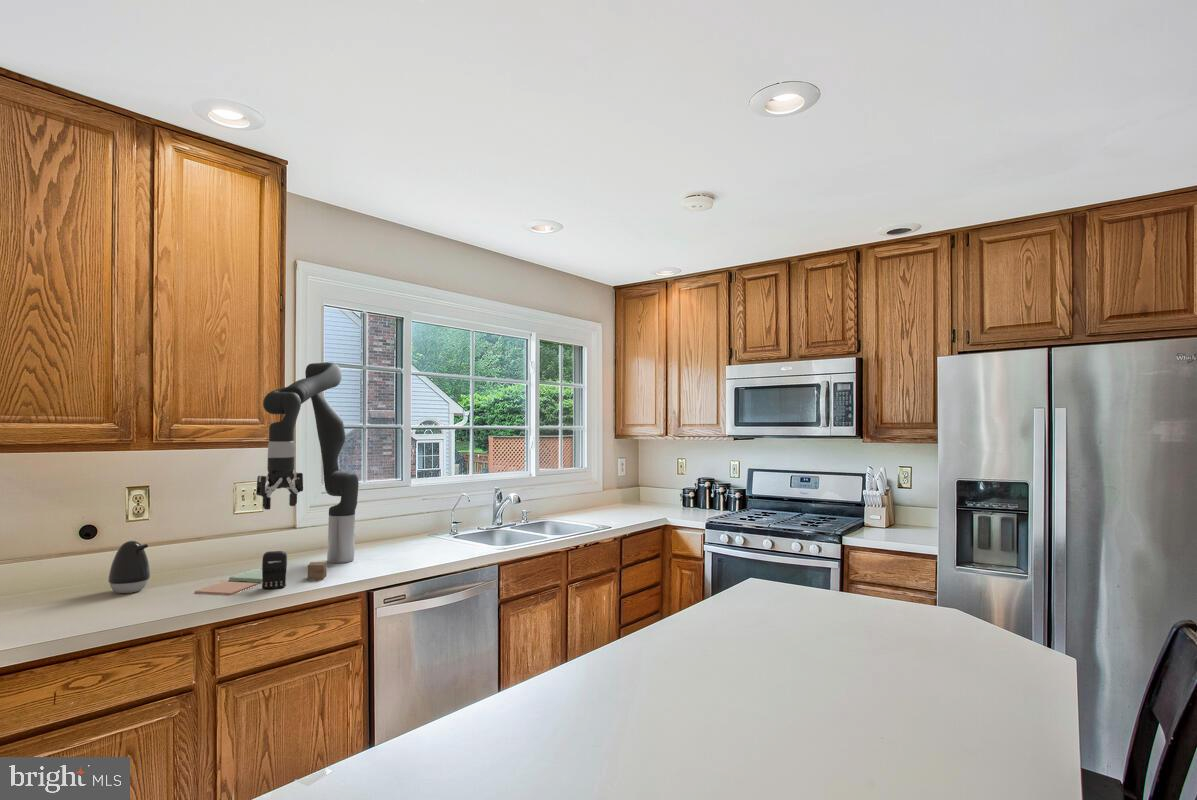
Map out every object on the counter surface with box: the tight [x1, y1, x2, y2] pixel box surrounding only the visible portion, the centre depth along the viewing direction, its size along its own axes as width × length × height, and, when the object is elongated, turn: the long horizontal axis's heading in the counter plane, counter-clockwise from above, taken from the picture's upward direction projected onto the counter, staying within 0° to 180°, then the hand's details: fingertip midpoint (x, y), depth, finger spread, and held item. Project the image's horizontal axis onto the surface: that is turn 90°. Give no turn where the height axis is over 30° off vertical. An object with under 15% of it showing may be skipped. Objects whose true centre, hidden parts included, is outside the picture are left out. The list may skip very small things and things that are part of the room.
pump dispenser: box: [107, 540, 151, 594], centre depth 194 cm, size 10×10×15 cm
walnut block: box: [306, 561, 328, 581], centre depth 214 cm, size 5×5×5 cm
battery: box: [261, 550, 288, 590], centre depth 200 cm, size 7×4×11 cm, turn 114°
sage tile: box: [228, 568, 262, 583], centre depth 213 cm, size 12×12×1 cm
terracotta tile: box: [194, 581, 259, 596], centre depth 198 cm, size 12×12×1 cm
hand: (279, 507), depth 200 cm, fingers open, 8 cm apart
